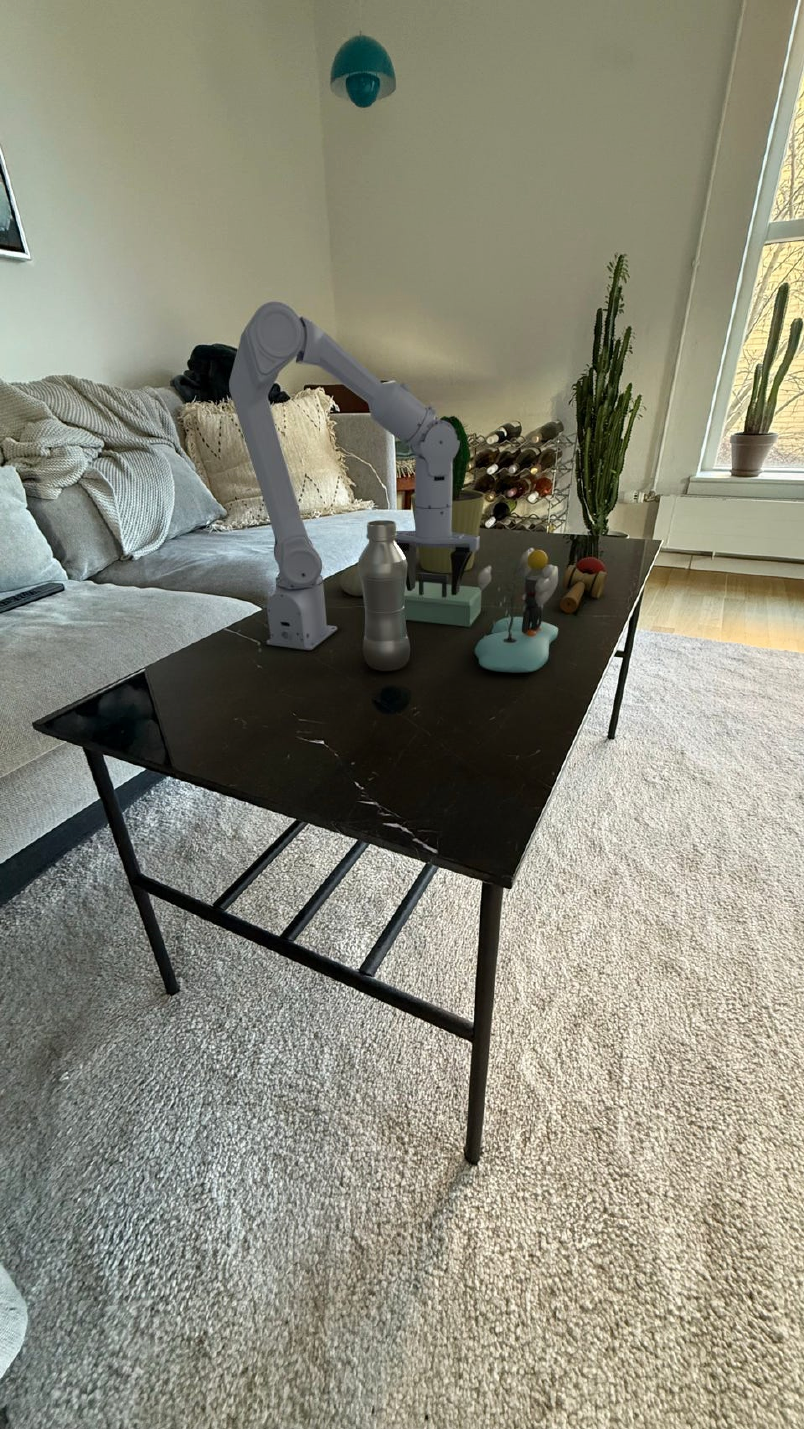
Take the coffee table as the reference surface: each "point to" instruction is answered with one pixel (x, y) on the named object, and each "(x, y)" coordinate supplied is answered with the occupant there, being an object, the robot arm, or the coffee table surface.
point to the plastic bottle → (384, 598)
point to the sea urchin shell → (351, 581)
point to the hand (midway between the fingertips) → (432, 591)
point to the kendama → (582, 582)
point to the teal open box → (442, 612)
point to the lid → (440, 591)
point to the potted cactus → (456, 507)
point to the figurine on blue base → (521, 621)
